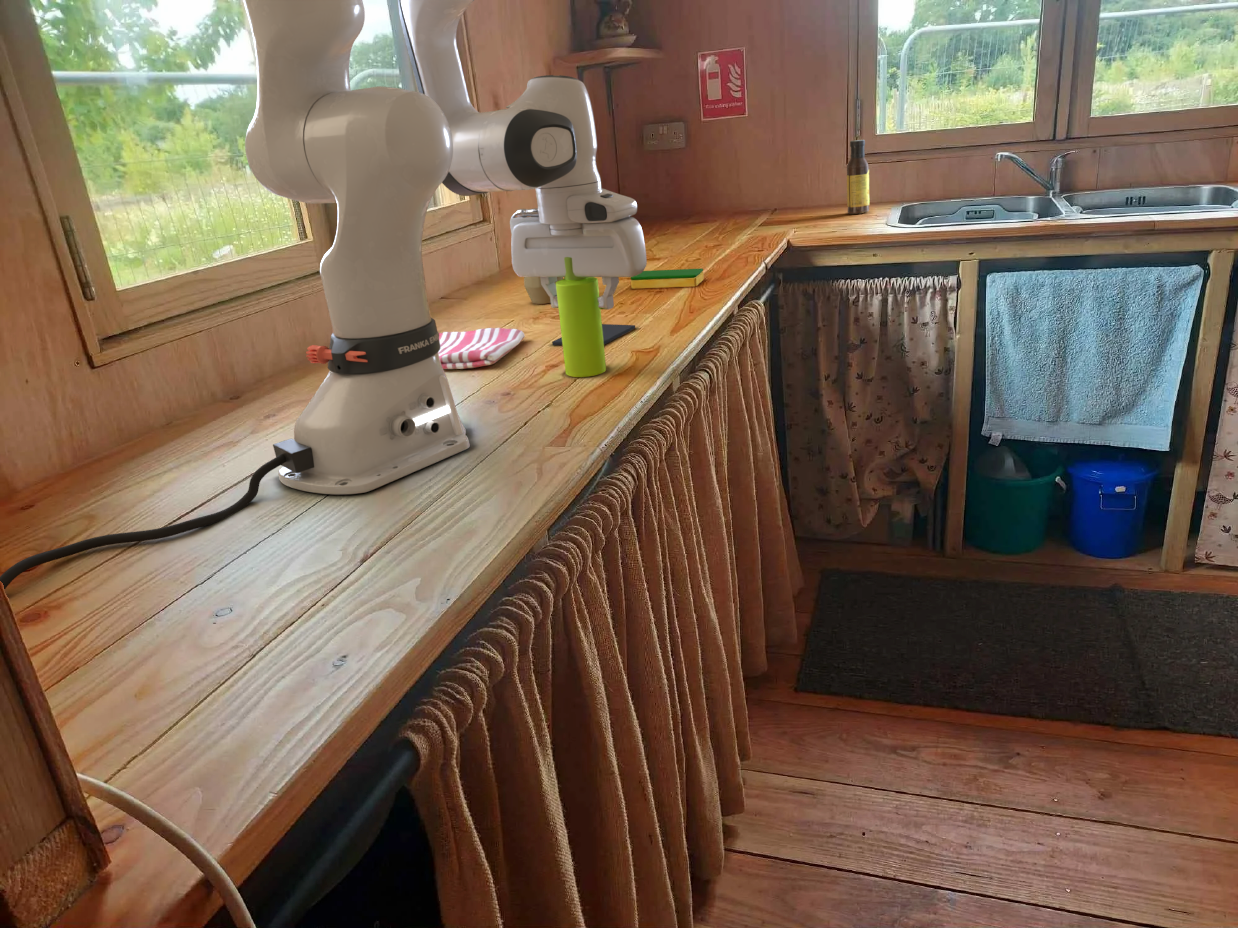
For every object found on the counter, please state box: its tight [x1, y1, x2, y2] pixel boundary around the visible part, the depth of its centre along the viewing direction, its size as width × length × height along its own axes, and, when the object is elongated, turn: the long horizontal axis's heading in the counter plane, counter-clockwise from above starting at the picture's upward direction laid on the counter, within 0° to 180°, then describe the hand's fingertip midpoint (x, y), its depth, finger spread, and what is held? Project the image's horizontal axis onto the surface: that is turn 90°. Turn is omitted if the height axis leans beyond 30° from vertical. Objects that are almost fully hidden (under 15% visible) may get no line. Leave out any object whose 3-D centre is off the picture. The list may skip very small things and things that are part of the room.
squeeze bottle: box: [523, 216, 564, 305], centre depth 173 cm, size 8×8×18 cm
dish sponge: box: [630, 267, 705, 290], centre depth 180 cm, size 7×14×2 cm, turn 72°
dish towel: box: [438, 327, 525, 370], centre depth 141 cm, size 17×23×4 cm
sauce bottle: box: [846, 139, 871, 215], centre depth 249 cm, size 6×6×20 cm
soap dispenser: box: [556, 257, 607, 378], centre depth 122 cm, size 6×7×20 cm
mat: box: [551, 323, 636, 347], centre depth 145 cm, size 12×9×1 cm
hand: (582, 308), depth 123 cm, fingers open, 6 cm apart
